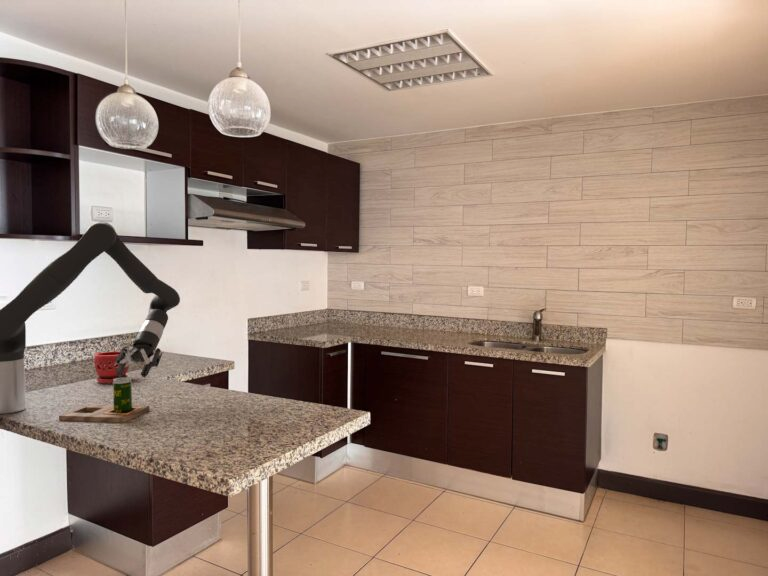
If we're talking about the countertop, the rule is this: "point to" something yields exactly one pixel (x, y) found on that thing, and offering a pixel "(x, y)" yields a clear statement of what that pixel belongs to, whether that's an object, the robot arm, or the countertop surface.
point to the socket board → (102, 413)
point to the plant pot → (107, 367)
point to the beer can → (122, 395)
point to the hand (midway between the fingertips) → (130, 375)
